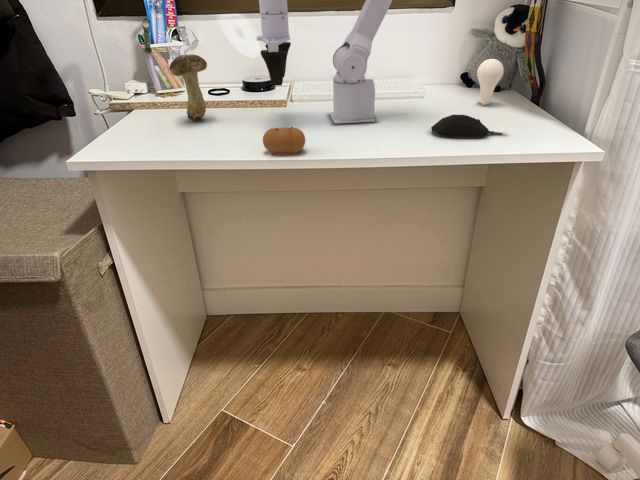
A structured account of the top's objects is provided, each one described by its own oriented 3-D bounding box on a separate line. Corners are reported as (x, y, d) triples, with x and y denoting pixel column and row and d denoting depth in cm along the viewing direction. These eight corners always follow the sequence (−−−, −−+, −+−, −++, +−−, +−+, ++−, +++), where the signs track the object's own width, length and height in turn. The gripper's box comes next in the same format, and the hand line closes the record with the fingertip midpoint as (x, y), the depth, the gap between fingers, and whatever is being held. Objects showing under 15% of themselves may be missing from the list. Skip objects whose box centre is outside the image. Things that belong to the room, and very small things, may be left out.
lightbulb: (500, 108, 109) (509, 61, 103) (475, 108, 109) (483, 61, 103) (492, 101, 114) (501, 56, 108) (468, 101, 114) (476, 56, 108)
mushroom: (206, 127, 101) (195, 58, 93) (171, 125, 103) (157, 57, 94) (222, 115, 109) (212, 50, 101) (189, 114, 110) (178, 49, 102)
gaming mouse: (505, 139, 90) (509, 120, 88) (432, 138, 92) (434, 119, 90) (498, 129, 96) (502, 111, 94) (429, 128, 97) (431, 110, 95)
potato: (306, 147, 89) (305, 123, 87) (305, 156, 85) (304, 131, 83) (265, 147, 90) (262, 124, 87) (262, 156, 85) (260, 132, 83)
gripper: (258, 9, 97) (264, 74, 104) (249, 17, 85) (256, 89, 92) (290, 9, 97) (293, 73, 104) (286, 16, 85) (290, 88, 92)
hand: (278, 81), depth 98 cm, fingers open, 7 cm apart
